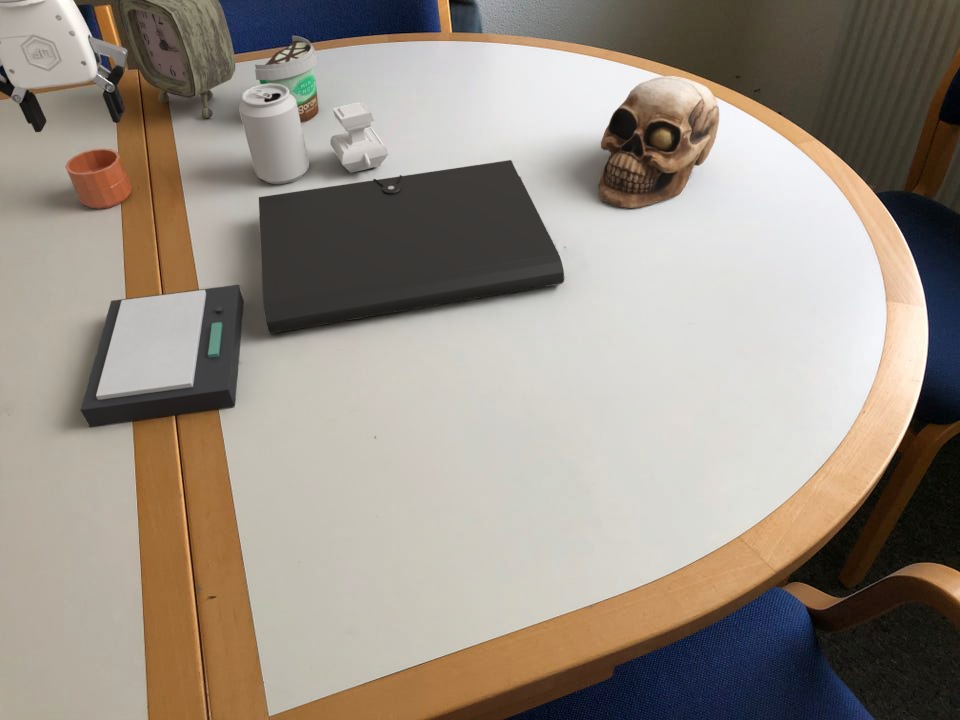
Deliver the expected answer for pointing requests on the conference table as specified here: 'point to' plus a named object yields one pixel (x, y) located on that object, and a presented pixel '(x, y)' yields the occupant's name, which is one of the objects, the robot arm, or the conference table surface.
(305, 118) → the food container
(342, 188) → the file folder
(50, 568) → the conference table surface
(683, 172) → the beige skull model
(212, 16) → the tabletop clock
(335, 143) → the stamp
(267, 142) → the can
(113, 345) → the scale
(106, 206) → the terracotta plant pot
